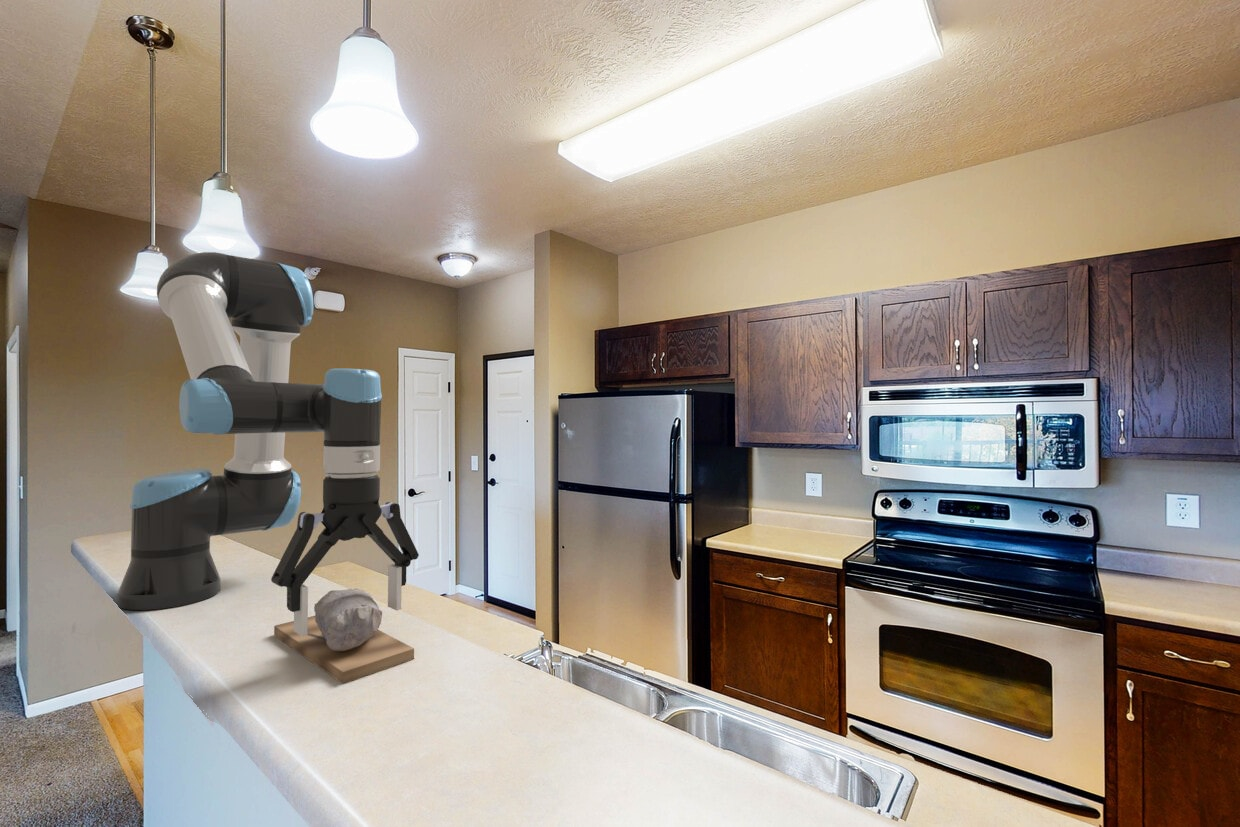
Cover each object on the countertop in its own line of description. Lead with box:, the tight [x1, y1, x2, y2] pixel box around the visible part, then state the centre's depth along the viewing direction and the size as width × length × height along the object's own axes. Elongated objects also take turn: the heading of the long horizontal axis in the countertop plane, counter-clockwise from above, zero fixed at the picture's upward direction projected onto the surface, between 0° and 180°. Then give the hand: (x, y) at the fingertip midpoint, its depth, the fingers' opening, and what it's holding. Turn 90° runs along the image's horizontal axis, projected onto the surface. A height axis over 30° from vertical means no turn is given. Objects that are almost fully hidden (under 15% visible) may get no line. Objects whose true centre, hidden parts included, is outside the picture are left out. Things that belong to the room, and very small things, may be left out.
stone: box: [313, 588, 383, 651], centre depth 84 cm, size 8×12×7 cm, turn 37°
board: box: [273, 615, 415, 684], centre depth 86 cm, size 24×10×2 cm, turn 50°
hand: (350, 620), depth 84 cm, fingers open, 13 cm apart
